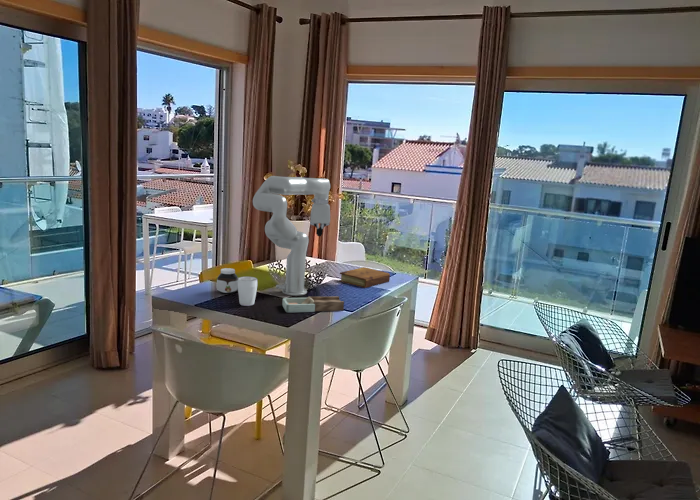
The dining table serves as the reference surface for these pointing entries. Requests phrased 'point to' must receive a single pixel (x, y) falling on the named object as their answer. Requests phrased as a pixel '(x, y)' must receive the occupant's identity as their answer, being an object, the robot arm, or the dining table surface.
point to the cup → (247, 290)
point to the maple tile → (308, 301)
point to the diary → (364, 277)
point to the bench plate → (328, 303)
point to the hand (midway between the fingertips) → (319, 235)
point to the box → (297, 305)
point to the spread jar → (227, 281)
